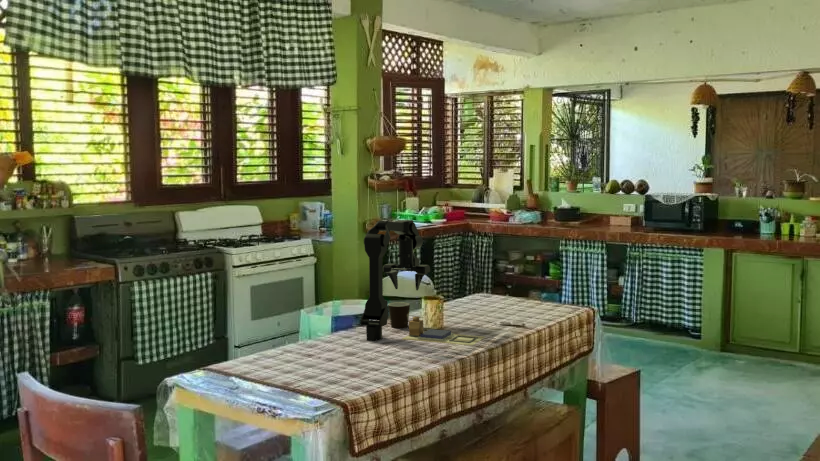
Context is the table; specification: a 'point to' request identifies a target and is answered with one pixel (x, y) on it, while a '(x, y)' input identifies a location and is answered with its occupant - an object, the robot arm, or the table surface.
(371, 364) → the table surface
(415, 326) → the stamp
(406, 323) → the coffee mug
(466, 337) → the station board
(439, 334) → the ink pad
